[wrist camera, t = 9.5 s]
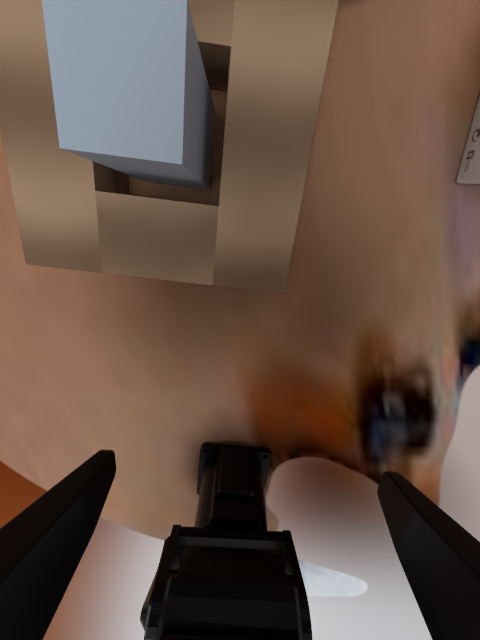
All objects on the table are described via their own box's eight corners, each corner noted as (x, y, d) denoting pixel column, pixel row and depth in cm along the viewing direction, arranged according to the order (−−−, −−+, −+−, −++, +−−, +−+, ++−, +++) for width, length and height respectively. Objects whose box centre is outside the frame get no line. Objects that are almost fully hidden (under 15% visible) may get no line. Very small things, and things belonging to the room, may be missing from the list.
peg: (214, 111, 14) (187, -2, 7) (209, 189, 16) (182, 164, 9) (143, 101, 14) (38, -26, 7) (145, 181, 16) (59, 148, 8)
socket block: (275, 278, 18) (284, 293, 14) (72, 254, 17) (26, 264, 14) (321, 3, 13) (354, -86, 9) (36, -42, 12) (-54, -156, 9)
